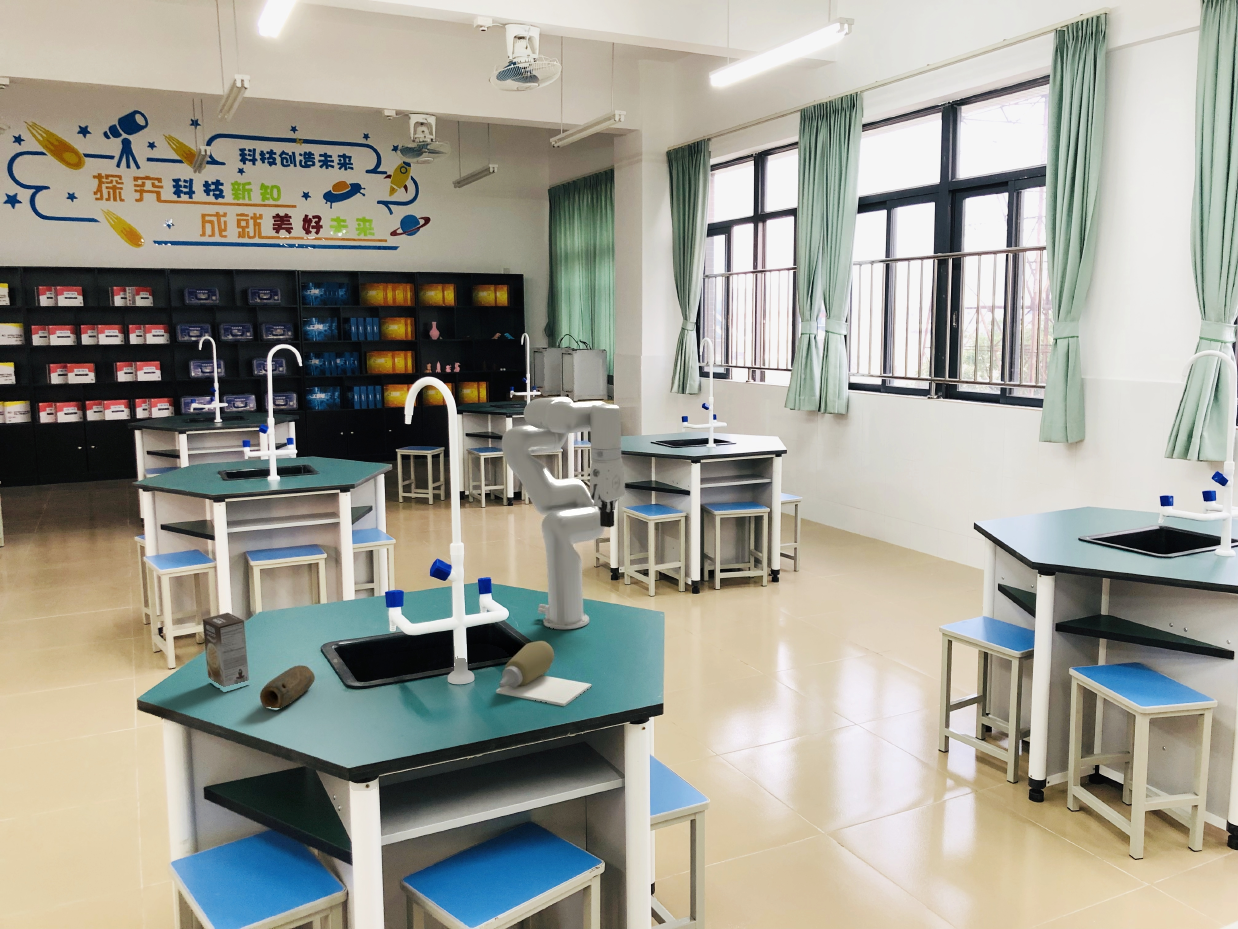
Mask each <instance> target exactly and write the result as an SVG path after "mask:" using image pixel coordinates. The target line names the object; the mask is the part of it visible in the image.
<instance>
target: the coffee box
mask: <svg viewBox="0 0 1238 929" xmlns="http://www.w3.org/2000/svg"><path fill="white" fill-rule="evenodd" d="M202 626H203V627H202V628H203V629H202V630H203V638H204V639H203V640H204V647H205V648H204V649H205V658H206V659H205V661H206V670H207V678H210V679H211V680H212V681H214V682H216V683H218V684H219V685H221V686H223V687H226V686H230V685H234V684H238V683H241V682H245V681H248V680H249V681H250V676H249V675H250V674H249V665H248V664H249V663H248V652H247V651H248V650H247V640H246V639H247V638H246V629H245V627H246V626H245V620H244V619H242V618H240V617H238V616H236V615H234V614H232V613H230V612H225V613H221V614H217V615H212V616H209V617H205V618H203V619H202Z"/></svg>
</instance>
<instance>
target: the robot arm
mask: <svg viewBox="0 0 1238 929" xmlns="http://www.w3.org/2000/svg"><path fill="white" fill-rule="evenodd" d="M621 412H622V411H621V408H620V407H619V406H618V405H616V404H611V403H610V404H609V403H606V402H604V401H601V400H591V401H578V402H574V401H573V400H572V399H571V398H569V397H568V396H567V397H566V396H555V397H554V396H553V397H540V398H534V399H532V400H531V401H529V402H528V403H527V404H526V406H525V408H524V410H523V418H524V420H525V422H526V423H527V424H525V425H519V426H518V425H517V426H514V427H512V428H510V429H508V430H507V431H505V432H504V433H503V435H502V438H501V449H502V454H503V456H504V459H505V461H506V463H507V465H508V466H509V468H510V470H511V471H512V472H513V473H514V475H515V476H516V477H517V478H518V479H519V480H520V483H521V484H522V486H523V488H524V490H525V492H526V494H527V496H528V499H529V500H530V502H531V503H532V505H533V506H534V508H535V510H536V511H537V512H538V513H539V514H540V515H544V516H545V517H543V519H542V521H541V533H542V538H543V541H544V547H545V554H546V558H545V559H546V570H547V571H546V572H547V577H546V578H547V598H548V599H547V601H548V604H545V603H544V604H543V603H539V605H538V609H537V613H538V614H544V615H545V616H544V618H543V625H544V626H545V627H547V628H549V627H550V629H553V628H554V629H555V630H572V629H573V630H574V629H579V628H581V627H582V628H583V627H584V626H587V625H588V624H589V623H590V617H589V615H587V614H586V613H584V597H583V596H584V594H583V568H582V567H583V566H582V558H581V556H580V554H579V552H578V551H577V550H576V548H575V547H574V545H576V544H579V543H584V542H590V541H594V540H595V541H596V540H597V539H600V538H601V537H602V535H604V532H605V529H606V528H612V527H613V528H614V527H615V510H616V503H617V502H618V501H619V500H620V498H622V497H624V496H625V494H626V483H625V482H626V480H625V478H626V477H625V468H624V463H623V462H624V461H623V459H622V427H621V426H622V421H621V420H622V418H621V417H622V416H621V415H622V414H621ZM582 432H590V455H591V456H590V458H591V459H590V460H591V465H590V474H589V488H588V487H587V486H586V484H585V483H584V482H583V481H581V479H578V478H575V477H569V478H568V477H567V478H559V479H558V478H555V477H554V476H553V475H552V474H551V471H550V469H549V468H548V467H547V465H546V464H544V463H543V461H541V460H540V459H537V458H536V457H534V456H532V455H540V454H541V455H542V454H548V453H549V454H550V453H555V452H557V451H559V450H560V449H562V447H563V446H564V444H565V442H566V440H567V438H568V436H569V435H570V434H574V433H582Z"/></svg>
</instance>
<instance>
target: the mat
mask: <svg viewBox="0 0 1238 929" xmlns="http://www.w3.org/2000/svg"><path fill="white" fill-rule="evenodd" d="M591 686H593V684H591V683H587V682H582V681H581V682H580V681H577V680H570V679H565V678H559V677H553V676H548V675H544V674H543V675H541V676H540V677H538V678H536V679H534V680H533V681H531V682H529V683H528V684H526V685H524V686H517V687H514V688H513V687H509V686H505V687H503V688H501V687H499V688H497V689H496V690H495V693H496V694H500V695H506V696H511V697H516V698H521V699H526V700H531V701H535V700H536V701H535V702H540V701H542V702H541V703H545V702H547V703H546V704H550V705H557V706H562V707H566V706H567V705H568V704H569V703H571V702H573V701H574V700H575V699H576V697H577V698H578V697H579V696H581V695H582V694H584V693H585V692H586V691H588V690H589V689H590V687H591ZM591 688H592V687H591ZM587 689H588V690H587ZM584 691H585V692H584ZM583 692H584V693H583ZM580 694H581V695H580Z"/></svg>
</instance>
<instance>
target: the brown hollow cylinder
mask: <svg viewBox="0 0 1238 929" xmlns="http://www.w3.org/2000/svg"><path fill="white" fill-rule="evenodd" d="M315 680H316V677H315V674H314V671H312V670H311V668H310V667H308V666H307V665H300V664H299V665H295V666H292V667H291V668H289V669H287V670H285V671H284V672H281V673H280V674H279V675H277V676H276V677H274V678H273V679H271V680H269V682H267V683H266V684H265V685H264V687H263V688H262V689H261V690H260V693H259V698H260V703H261V704H262V706H263V707H264V708H266V707H271V708H281V707H283V706H285V705H287V704H288V705H290V704H291V703H292V701H293V700H294V701H296V700H297V699H298V698H300V697H301V696H302V695H303V694H305V693H304V692H307V691H308V690H309V689H310V688H311V686H312V685H313V684H314V682H315ZM300 695H301V696H300ZM296 698H297V699H296ZM295 699H296V700H295ZM294 701H293V702H294ZM290 702H291V703H290ZM289 703H290V704H289ZM288 705H287V706H288ZM285 707H286V706H285ZM283 708H284V707H283ZM281 709H282V708H281Z"/></svg>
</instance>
